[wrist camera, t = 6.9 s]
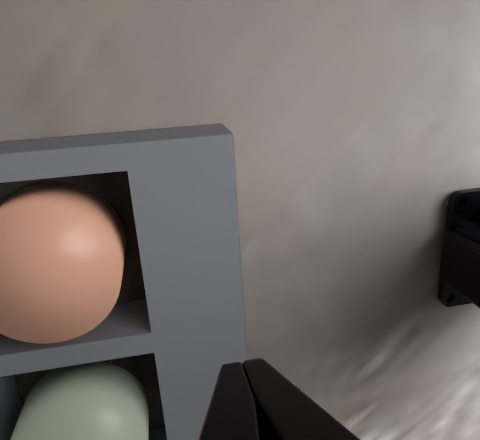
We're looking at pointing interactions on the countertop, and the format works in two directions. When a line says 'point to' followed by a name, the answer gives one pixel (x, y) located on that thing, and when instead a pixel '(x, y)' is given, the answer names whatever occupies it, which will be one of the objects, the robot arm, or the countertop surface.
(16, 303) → the button terracotta
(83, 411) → the button sage
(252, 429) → the robot arm
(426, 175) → the countertop surface
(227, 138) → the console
